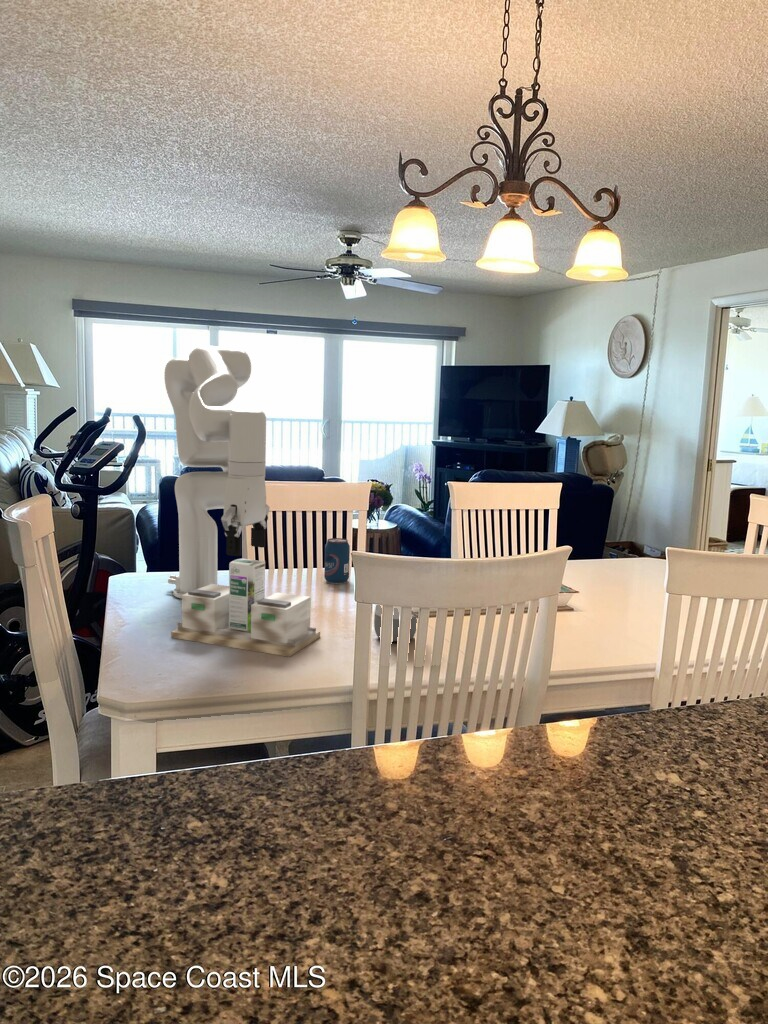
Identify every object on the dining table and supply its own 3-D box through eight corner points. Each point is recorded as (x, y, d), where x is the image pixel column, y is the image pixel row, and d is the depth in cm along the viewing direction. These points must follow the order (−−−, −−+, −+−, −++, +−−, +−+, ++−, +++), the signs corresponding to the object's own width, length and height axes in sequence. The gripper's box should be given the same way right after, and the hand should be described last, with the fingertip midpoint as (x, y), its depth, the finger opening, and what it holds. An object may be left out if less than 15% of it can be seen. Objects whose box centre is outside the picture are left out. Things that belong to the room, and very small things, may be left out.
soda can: (319, 581, 207) (320, 539, 206) (334, 577, 213) (335, 536, 211) (338, 585, 203) (339, 543, 202) (353, 581, 209) (354, 539, 207)
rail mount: (171, 637, 155) (170, 593, 154) (208, 620, 168) (208, 579, 167) (289, 656, 146) (290, 609, 144) (320, 636, 159) (321, 593, 157)
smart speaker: (422, 644, 156) (425, 579, 154) (380, 646, 153) (382, 581, 151) (408, 630, 165) (410, 569, 163) (368, 633, 162) (370, 571, 160)
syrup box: (227, 629, 155) (227, 562, 153) (242, 622, 161) (242, 556, 159) (251, 633, 153) (251, 564, 151) (265, 625, 159) (266, 559, 157)
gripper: (252, 465, 161) (251, 541, 164) (207, 472, 145) (207, 556, 148) (283, 467, 159) (281, 545, 161) (240, 475, 143) (240, 561, 145)
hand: (246, 550), depth 155 cm, fingers open, 9 cm apart
